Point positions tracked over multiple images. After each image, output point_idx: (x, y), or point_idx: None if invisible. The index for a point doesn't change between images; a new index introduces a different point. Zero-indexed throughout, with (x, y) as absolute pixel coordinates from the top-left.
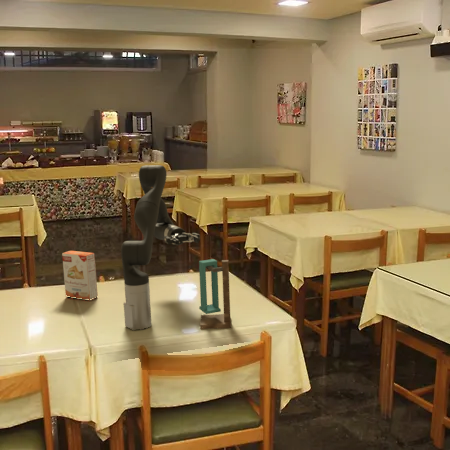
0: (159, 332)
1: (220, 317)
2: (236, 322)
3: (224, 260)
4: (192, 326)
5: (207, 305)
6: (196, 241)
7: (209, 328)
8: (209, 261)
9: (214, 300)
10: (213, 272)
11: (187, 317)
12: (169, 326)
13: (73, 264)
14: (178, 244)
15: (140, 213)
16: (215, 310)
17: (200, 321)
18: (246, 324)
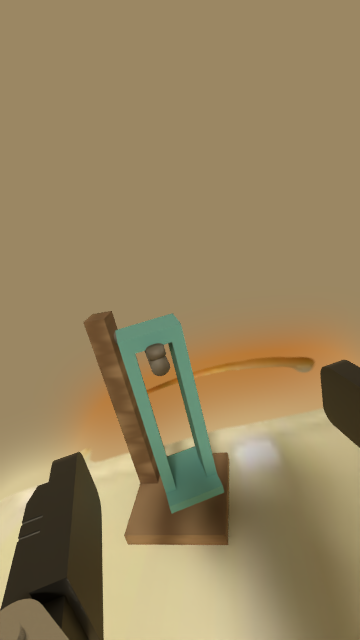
0: (341, 443)
1: (163, 504)
2: (125, 500)
3: (97, 318)
4: (252, 478)
5: (193, 493)
6: (96, 506)
7: None
8: (143, 324)
9: (166, 456)
10: (140, 371)
11: (283, 567)
12: (327, 482)
13: None
14: (331, 406)
15: None
16: (174, 455)
17: (226, 476)
18: (106, 484)
